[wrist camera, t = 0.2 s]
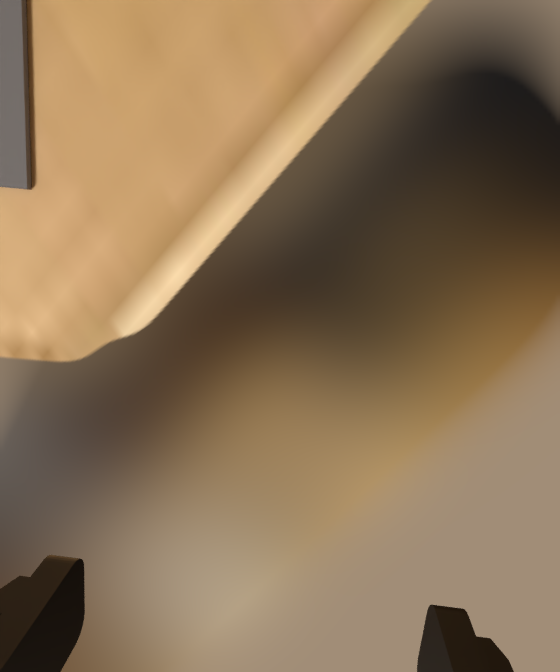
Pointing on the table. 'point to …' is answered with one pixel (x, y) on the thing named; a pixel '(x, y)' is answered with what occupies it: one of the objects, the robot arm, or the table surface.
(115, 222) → the table surface
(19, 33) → the mat
